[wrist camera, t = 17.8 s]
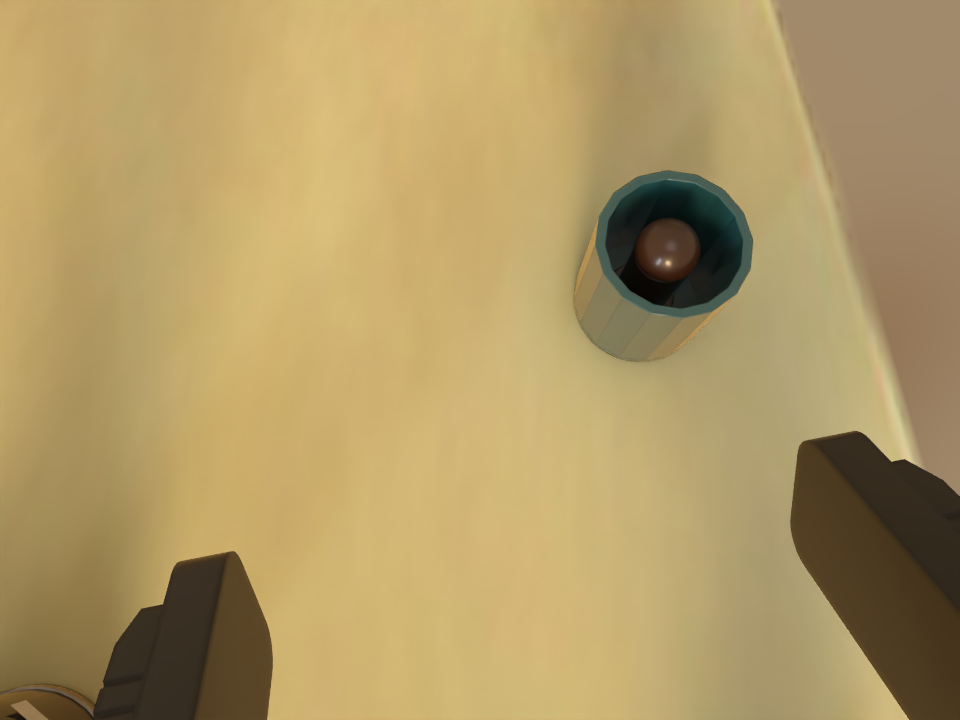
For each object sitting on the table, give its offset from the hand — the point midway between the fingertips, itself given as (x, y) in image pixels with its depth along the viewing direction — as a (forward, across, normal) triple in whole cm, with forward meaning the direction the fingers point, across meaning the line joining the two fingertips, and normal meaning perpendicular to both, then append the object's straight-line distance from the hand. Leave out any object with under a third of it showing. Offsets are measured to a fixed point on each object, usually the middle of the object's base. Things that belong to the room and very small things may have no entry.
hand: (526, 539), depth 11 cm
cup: (+32, -12, +14) cm, 37 cm away
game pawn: (+31, -11, +14) cm, 36 cm away
